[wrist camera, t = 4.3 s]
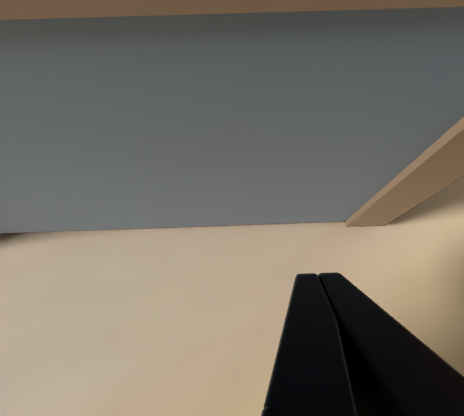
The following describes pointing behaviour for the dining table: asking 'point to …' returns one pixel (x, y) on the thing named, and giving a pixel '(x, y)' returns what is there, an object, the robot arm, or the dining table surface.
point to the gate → (226, 111)
